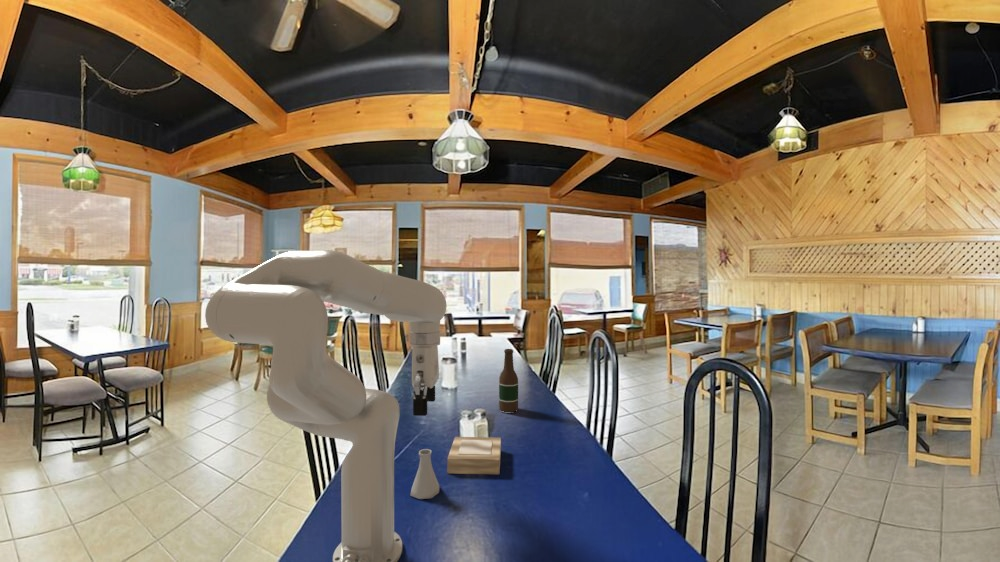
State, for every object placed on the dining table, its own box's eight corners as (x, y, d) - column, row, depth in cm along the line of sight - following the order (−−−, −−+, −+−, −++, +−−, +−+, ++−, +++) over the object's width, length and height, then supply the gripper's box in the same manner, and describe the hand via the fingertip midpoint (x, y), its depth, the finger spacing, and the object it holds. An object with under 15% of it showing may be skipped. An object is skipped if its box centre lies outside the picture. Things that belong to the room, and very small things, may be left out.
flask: (433, 502, 92) (433, 460, 92) (405, 498, 94) (405, 456, 94) (444, 485, 100) (444, 446, 99) (417, 482, 101) (417, 444, 101)
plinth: (499, 474, 105) (499, 458, 105) (447, 473, 106) (447, 457, 105) (500, 450, 119) (500, 437, 119) (454, 449, 120) (454, 436, 119)
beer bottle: (496, 412, 151) (496, 350, 151) (501, 406, 159) (502, 347, 158) (515, 414, 149) (515, 352, 149) (520, 408, 157) (520, 348, 156)
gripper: (433, 345, 87) (433, 421, 88) (445, 332, 105) (445, 396, 105) (399, 345, 87) (399, 421, 88) (417, 332, 105) (417, 396, 105)
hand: (424, 407), depth 97 cm, fingers open, 9 cm apart
